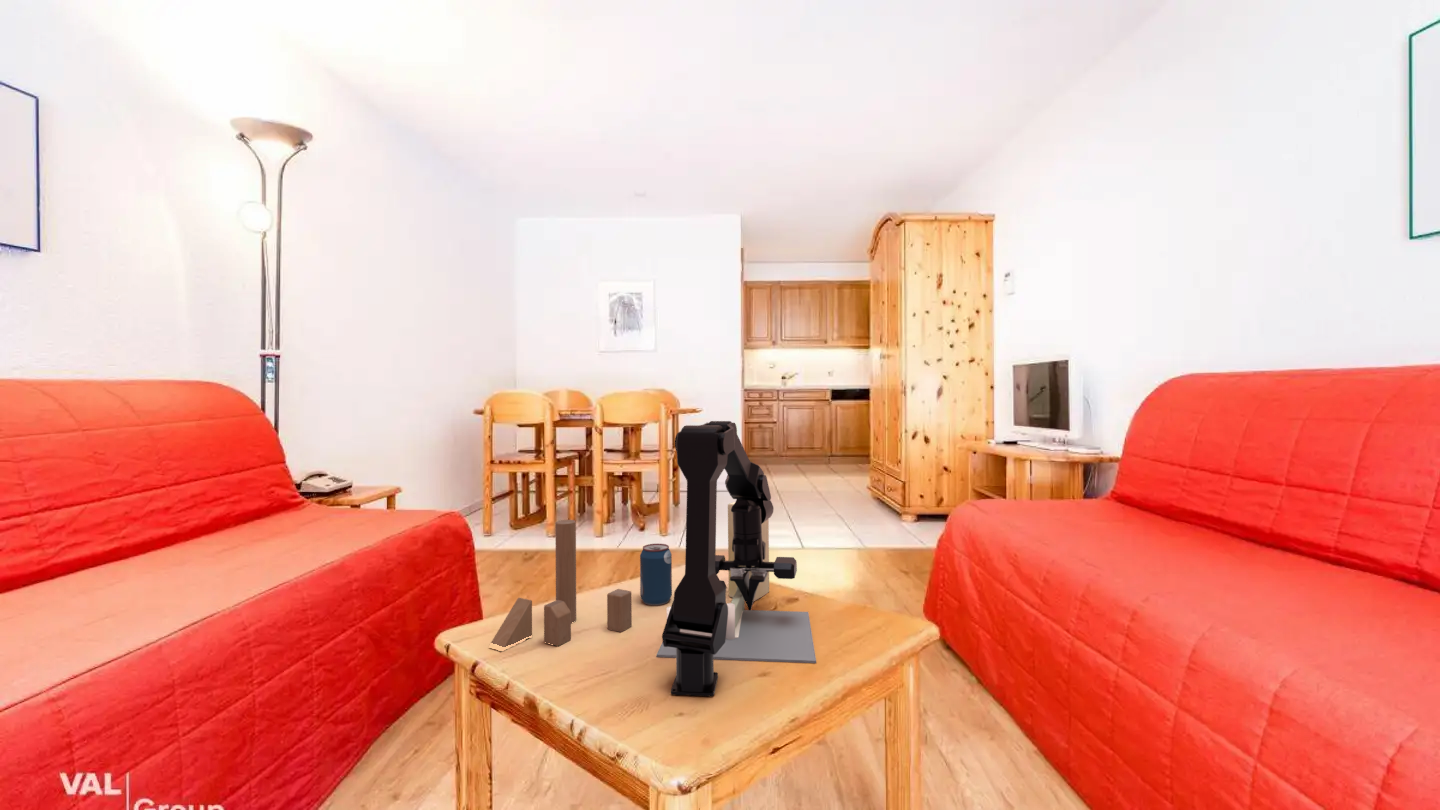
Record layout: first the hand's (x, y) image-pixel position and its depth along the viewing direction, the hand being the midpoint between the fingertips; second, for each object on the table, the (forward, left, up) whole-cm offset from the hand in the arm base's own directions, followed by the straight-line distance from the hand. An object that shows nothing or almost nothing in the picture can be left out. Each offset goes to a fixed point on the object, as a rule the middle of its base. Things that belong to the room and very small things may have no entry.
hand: (750, 609), depth 109 cm
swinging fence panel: (-2, +3, -1) cm, 4 cm away
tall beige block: (+16, +1, -2) cm, 16 cm away
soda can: (+10, +21, -2) cm, 23 cm away
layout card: (-6, +2, -2) cm, 7 cm away
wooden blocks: (-11, +34, -3) cm, 36 cm away
